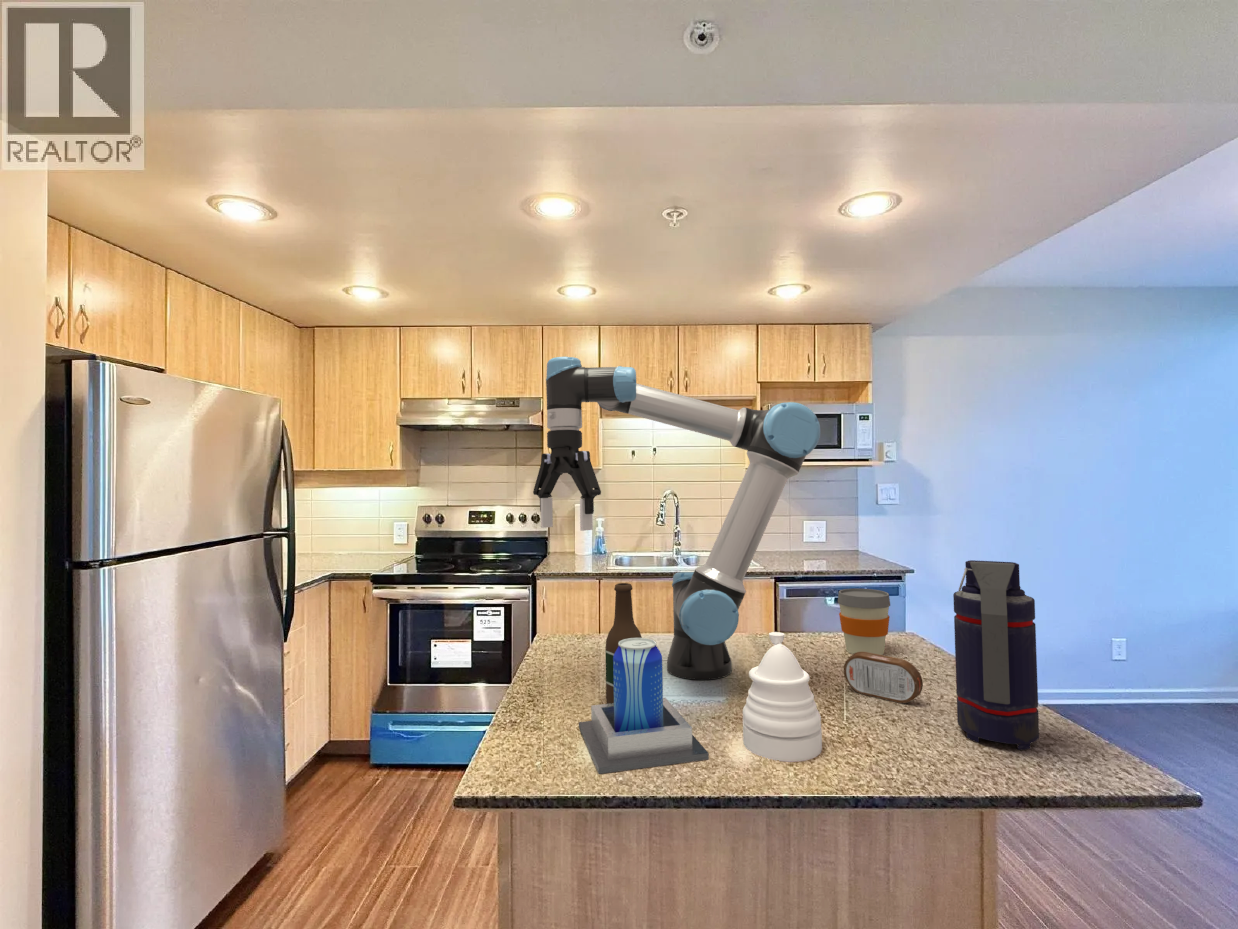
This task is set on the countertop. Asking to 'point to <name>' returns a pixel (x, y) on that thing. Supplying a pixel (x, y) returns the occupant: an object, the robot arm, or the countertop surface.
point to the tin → (883, 677)
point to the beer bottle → (619, 632)
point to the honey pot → (781, 708)
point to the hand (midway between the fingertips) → (565, 528)
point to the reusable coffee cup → (864, 619)
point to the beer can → (637, 685)
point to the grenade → (996, 655)
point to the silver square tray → (639, 741)
